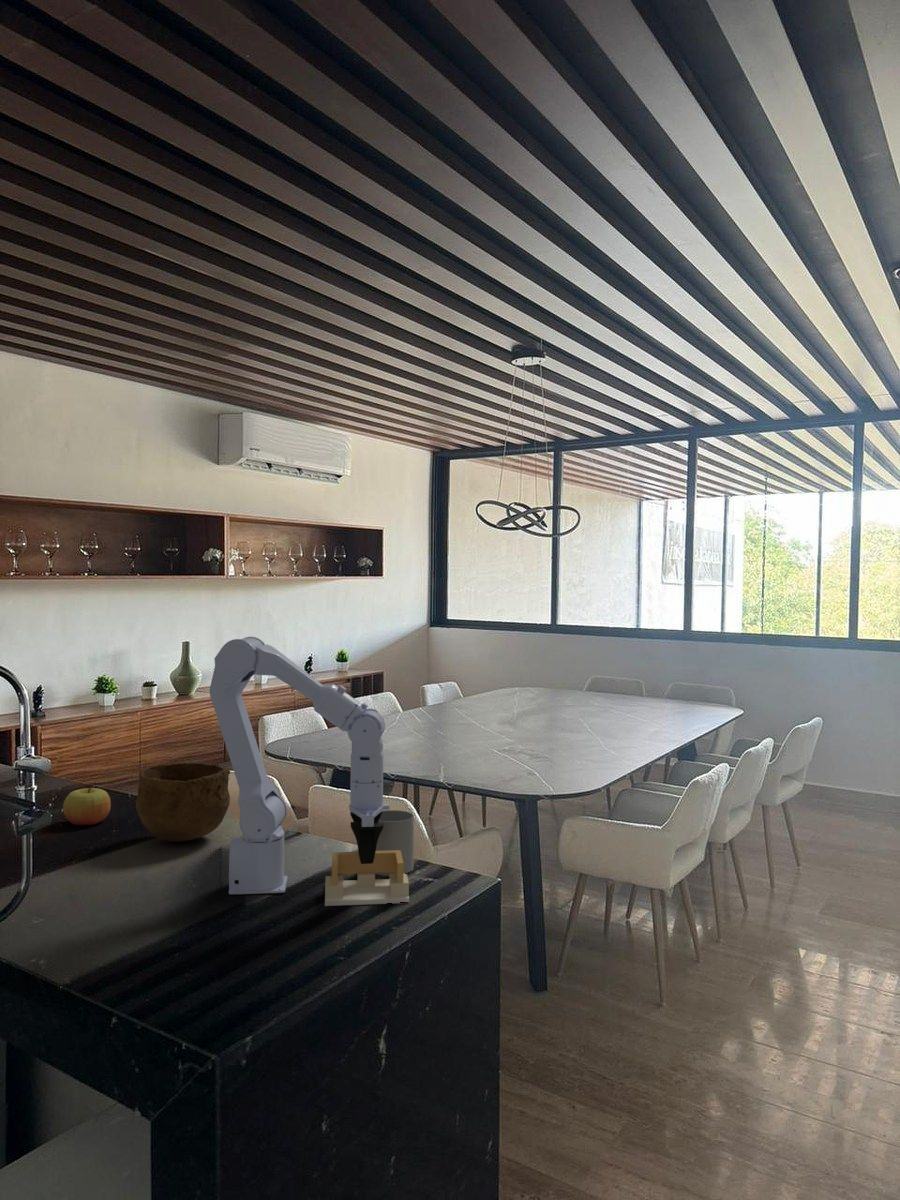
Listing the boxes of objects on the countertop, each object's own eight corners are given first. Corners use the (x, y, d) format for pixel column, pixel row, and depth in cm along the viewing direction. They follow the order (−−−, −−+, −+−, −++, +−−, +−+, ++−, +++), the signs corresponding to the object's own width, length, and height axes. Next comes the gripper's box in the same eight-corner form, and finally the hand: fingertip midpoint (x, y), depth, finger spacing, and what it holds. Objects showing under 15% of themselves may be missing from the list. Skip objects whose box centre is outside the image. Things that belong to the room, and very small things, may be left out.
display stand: (409, 902, 145) (409, 885, 145) (324, 905, 143) (325, 887, 143) (404, 883, 155) (405, 866, 155) (326, 885, 153) (326, 868, 153)
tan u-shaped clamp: (403, 883, 146) (403, 863, 146) (331, 885, 144) (331, 865, 144) (400, 869, 153) (400, 850, 153) (332, 871, 152) (332, 852, 152)
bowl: (249, 836, 184) (249, 766, 183) (178, 859, 168) (178, 782, 168) (189, 823, 194) (189, 757, 194) (117, 843, 178) (117, 771, 178)
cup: (406, 877, 158) (407, 822, 158) (363, 874, 160) (363, 820, 160) (417, 863, 166) (417, 811, 166) (376, 860, 168) (376, 809, 168)
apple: (99, 829, 189) (99, 792, 189) (55, 828, 189) (55, 792, 189) (117, 817, 198) (117, 782, 198) (75, 817, 199) (75, 782, 199)
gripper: (392, 788, 145) (391, 869, 145) (387, 771, 159) (387, 844, 159) (349, 789, 144) (349, 870, 144) (349, 771, 158) (348, 845, 158)
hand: (366, 857), depth 151 cm, fingers open, 6 cm apart
